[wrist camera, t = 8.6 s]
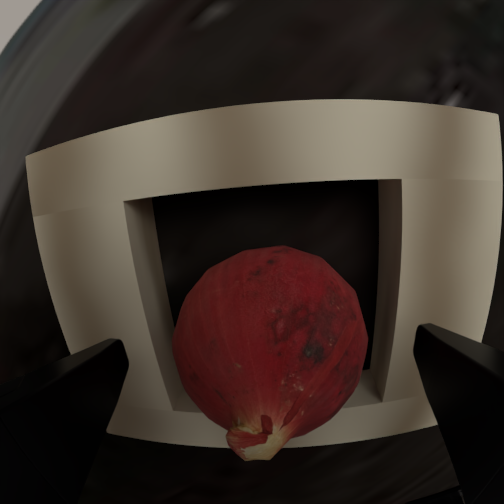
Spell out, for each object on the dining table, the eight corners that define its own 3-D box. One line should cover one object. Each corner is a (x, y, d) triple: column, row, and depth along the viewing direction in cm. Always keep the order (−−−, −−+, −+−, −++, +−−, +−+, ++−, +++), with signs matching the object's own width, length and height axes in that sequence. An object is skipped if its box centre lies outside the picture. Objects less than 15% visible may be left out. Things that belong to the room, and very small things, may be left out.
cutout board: (464, 119, 10) (498, 114, 8) (437, 390, 14) (454, 419, 11) (60, 154, 12) (25, 156, 9) (124, 404, 16) (107, 432, 13)
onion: (268, 193, 12) (252, 250, 4) (369, 288, 12) (452, 425, 5) (178, 296, 13) (87, 429, 6) (275, 372, 14) (268, 524, 6)
